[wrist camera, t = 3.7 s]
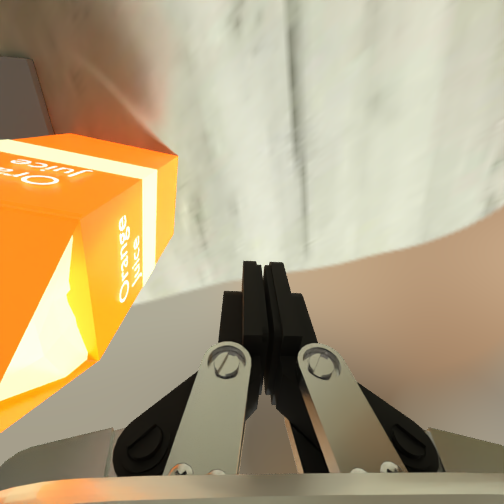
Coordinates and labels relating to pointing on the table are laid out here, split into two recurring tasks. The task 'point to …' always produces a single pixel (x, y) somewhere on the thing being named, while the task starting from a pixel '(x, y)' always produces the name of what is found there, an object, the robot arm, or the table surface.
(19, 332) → the orange juice
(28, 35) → the table surface
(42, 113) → the mat
